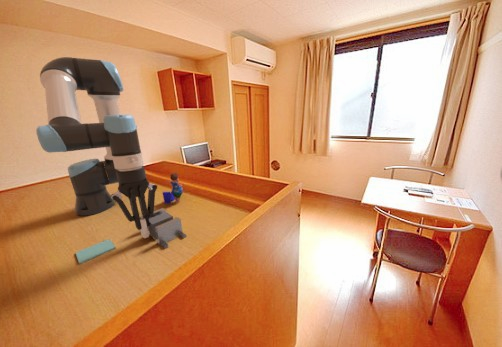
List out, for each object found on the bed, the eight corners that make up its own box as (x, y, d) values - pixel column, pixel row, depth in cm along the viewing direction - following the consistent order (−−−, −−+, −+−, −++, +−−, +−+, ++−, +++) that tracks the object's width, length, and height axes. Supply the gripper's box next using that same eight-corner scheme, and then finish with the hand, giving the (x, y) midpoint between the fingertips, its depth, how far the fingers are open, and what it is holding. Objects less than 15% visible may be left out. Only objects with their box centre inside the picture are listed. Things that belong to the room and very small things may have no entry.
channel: (141, 227, 74) (138, 213, 72) (162, 219, 80) (159, 205, 78) (164, 249, 61) (160, 232, 60) (187, 237, 67) (184, 221, 65)
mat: (75, 253, 61) (75, 252, 61) (109, 240, 67) (109, 238, 67) (79, 264, 56) (79, 262, 56) (115, 248, 63) (115, 247, 63)
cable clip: (174, 194, 105) (173, 184, 104) (182, 194, 105) (181, 184, 103) (161, 204, 94) (159, 192, 92) (170, 204, 93) (168, 193, 92)
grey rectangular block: (149, 234, 69) (146, 219, 68) (170, 225, 75) (167, 211, 73) (155, 240, 66) (152, 224, 64) (176, 230, 71) (173, 215, 70)
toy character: (191, 204, 93) (187, 173, 88) (182, 207, 89) (178, 176, 85) (176, 198, 100) (171, 170, 96) (167, 201, 96) (162, 172, 92)
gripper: (107, 175, 52) (127, 250, 59) (157, 165, 61) (169, 231, 68) (101, 170, 57) (119, 240, 64) (147, 162, 66) (160, 224, 73)
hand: (145, 235), depth 66 cm, fingers closed
